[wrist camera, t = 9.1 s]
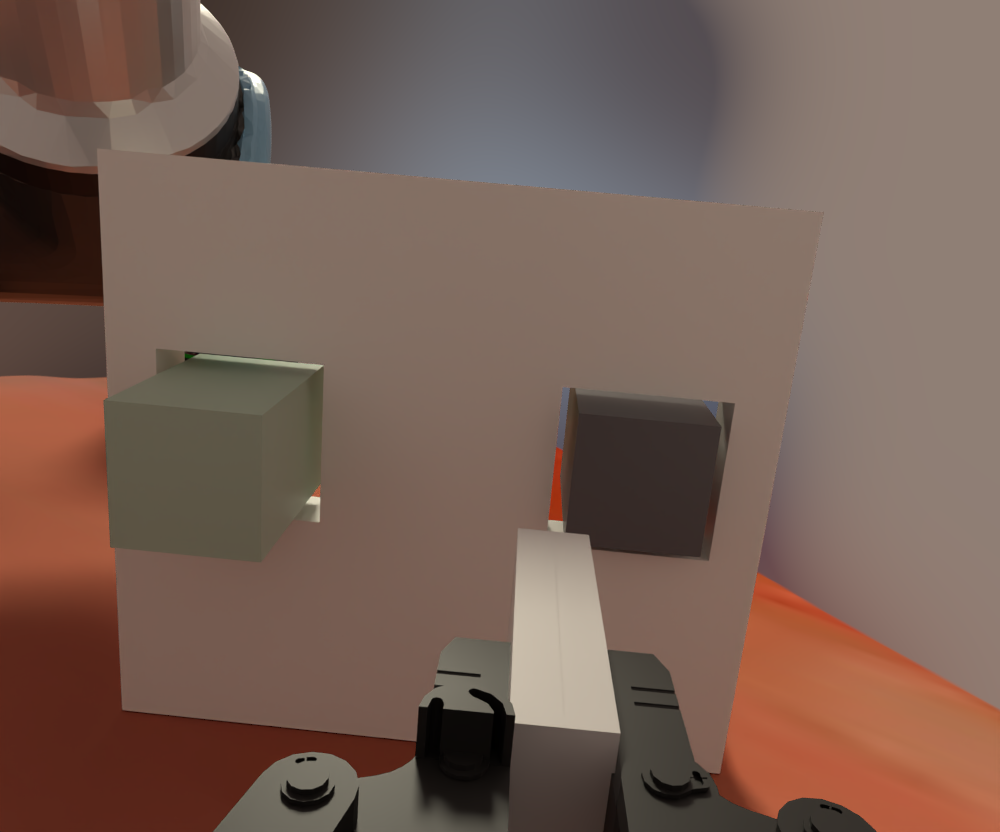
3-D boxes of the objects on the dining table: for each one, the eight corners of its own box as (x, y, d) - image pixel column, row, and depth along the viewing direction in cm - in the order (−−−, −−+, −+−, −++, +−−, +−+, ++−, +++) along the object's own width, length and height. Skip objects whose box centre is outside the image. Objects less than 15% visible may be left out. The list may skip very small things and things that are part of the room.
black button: (563, 543, 24) (579, 413, 23) (560, 475, 30) (572, 368, 29) (700, 557, 24) (721, 426, 23) (670, 486, 30) (686, 379, 29)
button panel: (122, 710, 28) (97, 148, 23) (194, 620, 34) (186, 156, 29) (719, 773, 27) (823, 212, 22) (689, 671, 33) (766, 207, 28)
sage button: (110, 547, 22) (103, 399, 21) (201, 471, 27) (199, 353, 26) (261, 562, 22) (262, 415, 21) (320, 483, 27) (323, 365, 26)
